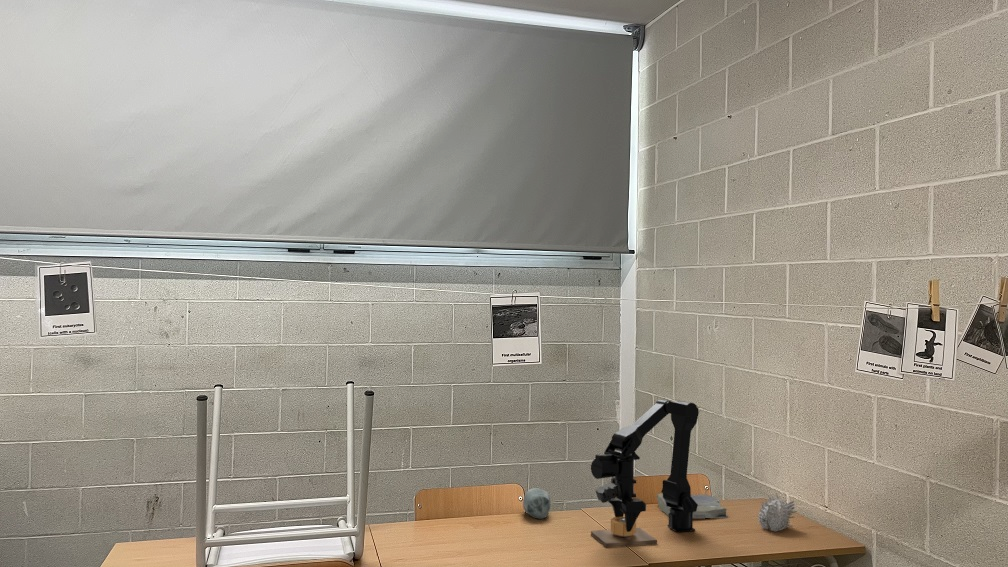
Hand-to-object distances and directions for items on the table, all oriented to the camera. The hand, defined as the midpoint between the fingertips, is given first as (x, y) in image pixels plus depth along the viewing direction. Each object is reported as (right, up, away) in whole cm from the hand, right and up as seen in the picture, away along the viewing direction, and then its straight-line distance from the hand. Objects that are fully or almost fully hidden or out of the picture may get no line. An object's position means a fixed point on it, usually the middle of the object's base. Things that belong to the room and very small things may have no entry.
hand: (623, 527), depth 221 cm
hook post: (0, -2, 0) cm, 2 cm away
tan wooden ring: (0, -1, 0) cm, 1 cm away
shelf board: (0, -3, 0) cm, 3 cm away
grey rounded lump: (-25, -4, +25) cm, 35 cm away
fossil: (+29, -5, +32) cm, 43 cm away
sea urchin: (+50, -5, +13) cm, 52 cm away
